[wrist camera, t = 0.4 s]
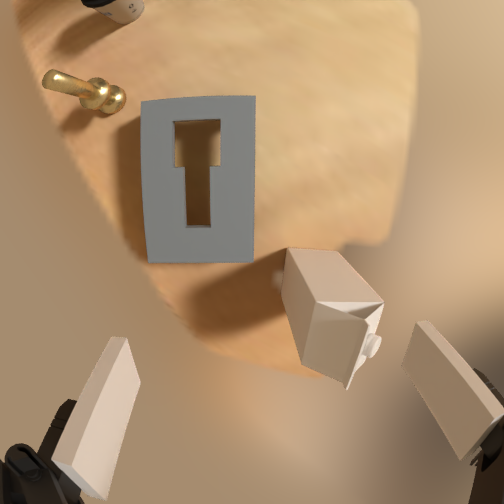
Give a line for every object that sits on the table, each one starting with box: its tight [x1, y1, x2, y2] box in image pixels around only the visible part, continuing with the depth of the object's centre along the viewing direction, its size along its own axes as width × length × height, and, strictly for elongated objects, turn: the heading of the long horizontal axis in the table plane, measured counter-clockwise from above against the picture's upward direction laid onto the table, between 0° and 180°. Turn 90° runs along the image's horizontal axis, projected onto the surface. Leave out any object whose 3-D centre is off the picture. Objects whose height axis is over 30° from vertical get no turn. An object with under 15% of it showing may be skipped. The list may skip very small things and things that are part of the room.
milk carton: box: [281, 248, 384, 390], centre depth 31 cm, size 7×7×19 cm
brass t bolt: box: [42, 69, 126, 114], centre depth 24 cm, size 4×4×15 cm
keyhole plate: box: [141, 96, 256, 263], centre depth 32 cm, size 18×12×6 cm, turn 179°
